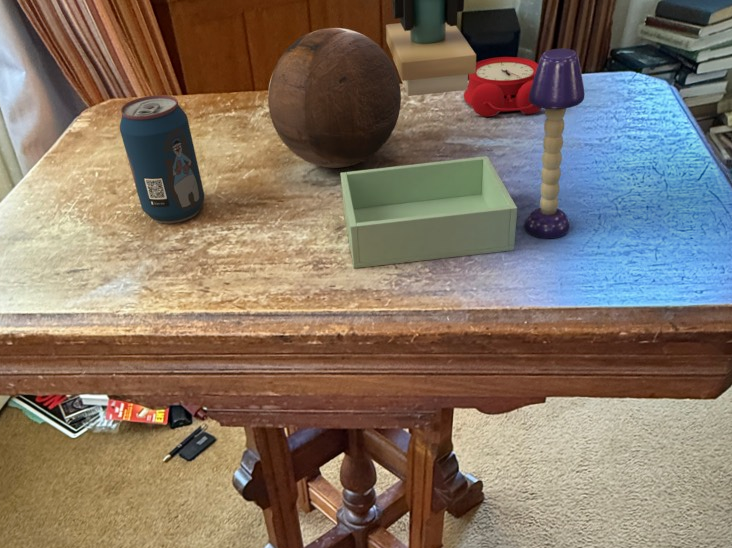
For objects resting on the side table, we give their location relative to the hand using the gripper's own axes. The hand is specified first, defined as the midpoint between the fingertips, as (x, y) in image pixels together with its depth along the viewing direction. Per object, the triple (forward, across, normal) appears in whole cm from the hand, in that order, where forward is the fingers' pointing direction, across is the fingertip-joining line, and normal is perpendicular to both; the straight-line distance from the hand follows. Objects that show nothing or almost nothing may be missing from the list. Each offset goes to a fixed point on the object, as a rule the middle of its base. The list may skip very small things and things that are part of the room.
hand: (427, 21), depth 61 cm
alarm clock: (+20, +15, +29) cm, 38 cm away
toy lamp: (+20, +11, -3) cm, 23 cm away
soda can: (+20, -27, +9) cm, 34 cm away
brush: (+4, 0, 0) cm, 4 cm away
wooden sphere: (+20, -8, +17) cm, 27 cm away
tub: (+20, -1, -1) cm, 20 cm away
